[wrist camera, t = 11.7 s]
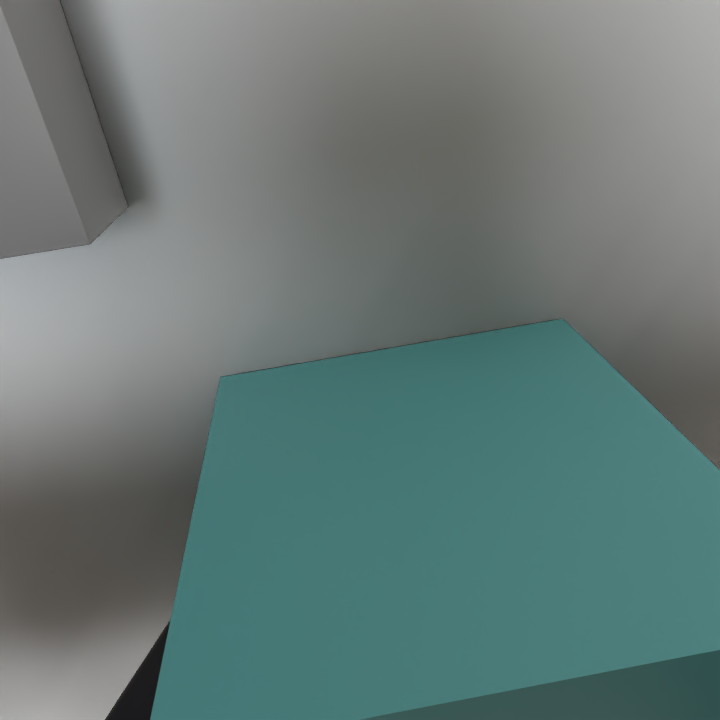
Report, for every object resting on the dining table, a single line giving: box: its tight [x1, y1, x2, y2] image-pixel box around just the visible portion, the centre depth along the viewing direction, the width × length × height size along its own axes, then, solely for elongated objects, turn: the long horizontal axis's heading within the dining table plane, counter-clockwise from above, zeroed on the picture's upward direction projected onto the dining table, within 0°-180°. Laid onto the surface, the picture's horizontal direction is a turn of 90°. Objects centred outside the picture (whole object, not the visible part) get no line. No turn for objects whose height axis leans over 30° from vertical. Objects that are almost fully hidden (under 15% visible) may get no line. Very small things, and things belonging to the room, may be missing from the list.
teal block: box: [150, 319, 720, 720], centre depth 7 cm, size 5×5×5 cm
